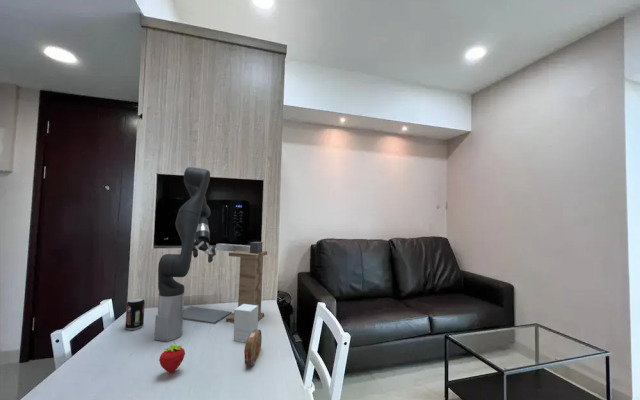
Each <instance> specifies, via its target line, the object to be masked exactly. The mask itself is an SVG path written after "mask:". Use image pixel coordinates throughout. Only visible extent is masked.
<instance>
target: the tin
mask: <svg viewBox="0 0 640 400" xmlns="http://www.w3.org/2000/svg"><path fill="white" fill-rule="evenodd" d="M262 340H263V339H262V330H261V329H258V330H253V331H252V332H251V334H250V336H249V337H248V339H247V341H246V342H245V344H244V350H243V353H244V365H245V366H254V365H255V364H256V362H257V359H258V357H259V355H260V353H261V349H262Z"/></svg>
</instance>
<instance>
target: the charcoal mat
mask: <svg viewBox="0 0 640 400" xmlns="http://www.w3.org/2000/svg"><path fill="white" fill-rule="evenodd" d="M232 314H233V313H232V311H229V310H223V309H222V310H220V309H215V308H206V307H199V306H192V305H191V306H188V307H186V308H183V320H184V321H192V322H199V323H203V324H204V323H205V324H210V325H211V324H212V325H215V324H217V323H219V322H220V321H222V320H223V319H226V318H227V317H229V316H230V315H232Z"/></svg>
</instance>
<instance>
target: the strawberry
mask: <svg viewBox="0 0 640 400" xmlns="http://www.w3.org/2000/svg"><path fill="white" fill-rule="evenodd" d="M172 342H173V343H172V344H170V347H167V348H163V350H164V351H163V352H162V353H161V354H160V356H159V359H158V361H159V364H160V367H162V369H163V370H164V371H166V372H167V373H168V374H170V375H172V374H174V373H175V372H176V371H177V369H179V367H180V365H181V364H182V362H183V361H184V358H185V355H186V351H185V349H184V348H183V345H181V344H180V345H178V344H176V343H175V341H174V340H172Z"/></svg>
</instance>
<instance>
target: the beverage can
mask: <svg viewBox="0 0 640 400" xmlns="http://www.w3.org/2000/svg"><path fill="white" fill-rule="evenodd" d="M145 303H146V301H145V299H144V297H133V298H129V299H128V300H127V302H126V307H125V308H126V309H125V325H124V328H125V329H126V330H128V331H136V330H139V329H140V328H142V327H143V326H144V319H145V306H146V305H145Z"/></svg>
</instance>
